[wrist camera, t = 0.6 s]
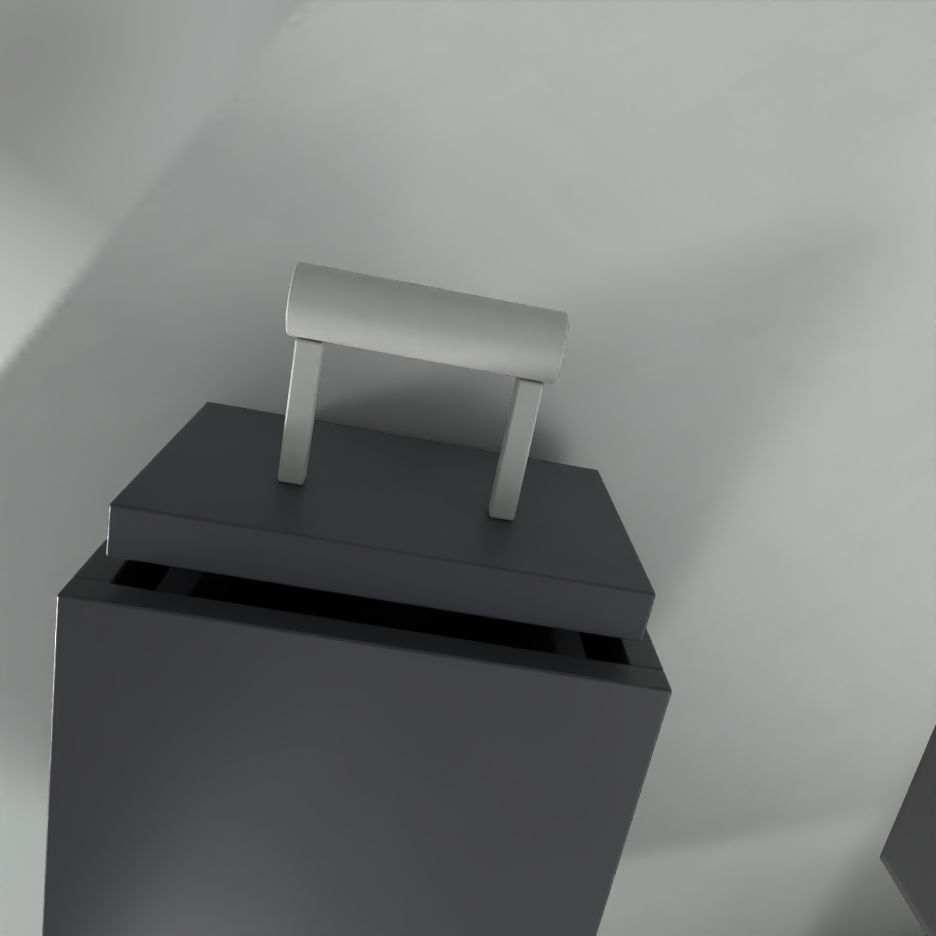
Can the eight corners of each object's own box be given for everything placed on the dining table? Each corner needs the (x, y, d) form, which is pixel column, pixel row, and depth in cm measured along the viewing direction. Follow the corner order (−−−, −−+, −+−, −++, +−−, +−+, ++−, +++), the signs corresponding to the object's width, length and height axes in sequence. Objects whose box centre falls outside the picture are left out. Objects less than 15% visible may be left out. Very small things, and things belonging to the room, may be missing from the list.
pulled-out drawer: (224, 220, 24) (123, 252, 16) (641, 301, 25) (723, 365, 17) (169, 787, 30) (77, 997, 22) (505, 834, 31) (523, 1051, 23)
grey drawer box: (189, 443, 27) (55, 594, 18) (599, 514, 28) (673, 690, 19) (153, 833, 31) (33, 1109, 22) (504, 880, 32) (526, 1163, 23)
